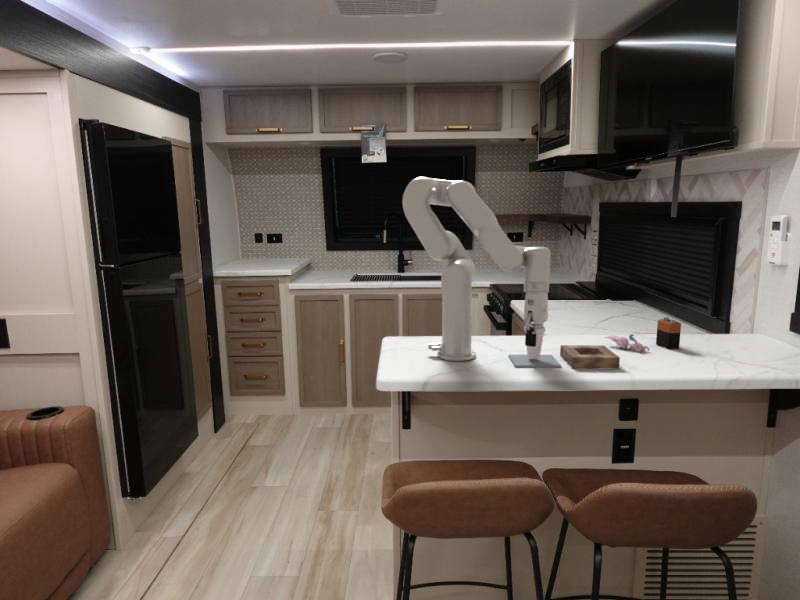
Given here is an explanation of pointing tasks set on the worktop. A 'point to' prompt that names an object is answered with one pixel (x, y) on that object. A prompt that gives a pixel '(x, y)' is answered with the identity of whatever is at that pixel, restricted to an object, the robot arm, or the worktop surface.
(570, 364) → the walnut frame
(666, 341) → the battery
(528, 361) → the slate mat
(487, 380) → the worktop surface
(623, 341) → the rabbit figure
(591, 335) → the worktop surface
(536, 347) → the smoothie
